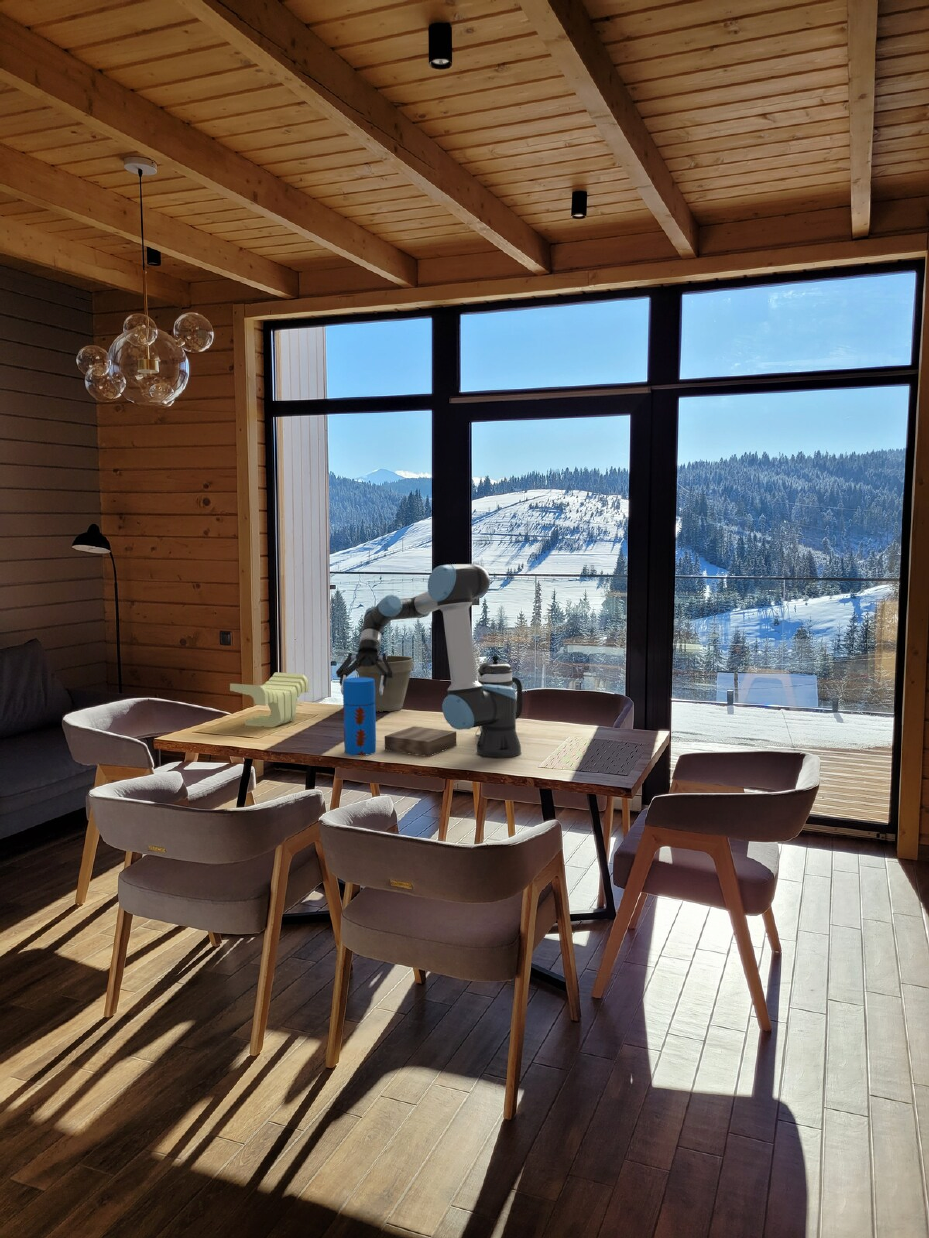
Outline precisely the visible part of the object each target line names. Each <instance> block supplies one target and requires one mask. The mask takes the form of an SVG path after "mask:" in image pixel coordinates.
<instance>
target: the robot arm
mask: <svg viewBox="0 0 929 1238" xmlns="http://www.w3.org/2000/svg"><path fill="white" fill-rule="evenodd" d="M490 584H491V578H490V575H489V572H488V571H487V570H486V569H485V567H483V566H481V565H479V564H475V563H456V564H455V563H454V564H453V563H452V564H451V563H450V564H449V563H448V564H447V563H446V564H443V565H442V564H441V565H439V566H436V567H435V568H433V570H432V571H431V574H430V575H429V577H428V580H427V591H426V592H423V593H420V594H418V595H416V596H413V597H409V598H400V597H399V596H397V595H394V594H387V595H386V596H384V597H383V598H382V599H381V600H380V601H379V602H378V603H377V605H375V606H371V607H368V608H367V609H366V610H365V613H364V615H363V622H362V628H361V634H360V638H359V644H358V650H357V653H356V654H353V653H352V652H349V653H348V655H347V658H345V660H344V661H343V663H342V664H341V665H340V666H339V668H338V669H337V670H336V672H335V674H336V677H337V678H339V685H340V692H341V695H342V696H343V680H344V679H347V677H349V675H351V674H352V673H353V672H354V671H355V672H356V669H357V668H360V667H361V666H362V667H366V666H368V667H371V666H374V667H375V668H376V669H377V670H378V671H379V673H380V674H381V682H380V688H379V692H380V695H382V694H383V688H384V686H386V685H387V680H388V678H393V673H392V670H391V668H390V666H389V664H388V662H387V656H388V655H387V653H385V652H384V653H383V654H380V648H381V643H382V637H383V631H384V628H385V627H386V626H387V625H388V624H389V623H391V621H399V620H406V619H407V620H408V619H409V620H410V619H422V618H426V617H428V616H430V613H432V612H435V611H437V610H440V611H441V612H442V617H443V626H444V632H445V633H444V635H445V642H446V650H447V658H448V664H449V665H448V666H449V675H450V683H451V684H450V685H449V687H448V688H447V696H446V697H445V698H444V699H443V702H442V706H441V709H442V714H443V717H444V720H445V721H446V723H447V724H449V726H451V728H452V729H455V730H470V729H472V728H479V726H481V732H480V733H479V734H480V735H479V736H478V739H477V743H476V747H475V750H476V754H477V755H478V756H481V757H486V758H497V759H498V758H499V759H500V758H501V759H502V758H510V757H511V758H512V757H516V756H518V755H521V753H522V745H521V742H520V740H519V736H518V734H517V726H516V725H517V724H516V721H517V719H516V711H517V696H516V690H515V688H514V687H513V688H512V687H508V686H502V685H490V684H484V685H482V684H480V683H479V682H478V675H477V668H476V667H477V666H476V659H475V653H474V652H475V651H474V643H473V635H472V627H471V618H470V612H469V611H470V610H469V609H470V607H471V606H472V605H473V600H475V599H477V598H480V597H483V596H484V595H485V594H487V592H488V591H489V588H490ZM379 654H380V655H379ZM379 659H381V661H383V662H384V665H385V667H386V669H387V672H388V673H387V672H385V671H384V669H383V668H382V667H381V666H380V665H379V664H378V662H377V661H378V660H379ZM352 662H353V663H352ZM358 663H359V664H358Z"/></svg>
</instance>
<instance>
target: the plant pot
mask: <svg viewBox="0 0 929 1238" xmlns="http://www.w3.org/2000/svg"><path fill="white" fill-rule="evenodd" d="M386 656H387V662H388V664H389V666H390V668H391V670H392V673H393V678H388V680H387V685H386V686H384V688H383V694H382V695H380V692H379V688H380V682H381V674H380V673H379V671H378V670H377V669H376V668H375V667H374V666H371V667H368V666H366V667H362V666H361V667H360V668H357V669H356V670H355V672H357V674H358V677H366V678H373V679H374V681H375V712H378V711H379V712H381V713H382V712H383V711H388V712H395V711H399V710H402V709H403V705H404V701H405V700H406V699H405V697H406V695H407V690H408V685H409V681H410V677H411V672H412V671H413V669H414V658H413V657H410V656H407V655H406V656H405V655H386ZM377 662H378V664H379V665H380V666H381V667H382V668H383V669H384V671H385V672H387V669H386V667H385V665H384V662H383V661H381V659H379V660H378V661H377ZM358 664H359V663H358ZM387 673H388V672H387ZM379 712H378V713H379ZM383 713H384V712H383Z"/></svg>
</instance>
